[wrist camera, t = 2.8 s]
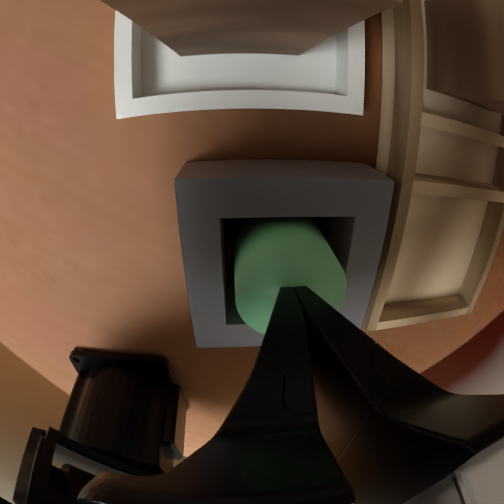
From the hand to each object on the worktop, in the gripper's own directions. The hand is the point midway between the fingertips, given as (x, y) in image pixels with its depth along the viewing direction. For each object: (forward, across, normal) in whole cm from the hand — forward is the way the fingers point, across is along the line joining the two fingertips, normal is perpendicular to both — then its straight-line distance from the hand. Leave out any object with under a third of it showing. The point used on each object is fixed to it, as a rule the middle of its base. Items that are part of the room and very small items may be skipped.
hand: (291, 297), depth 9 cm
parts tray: (+4, +2, -10) cm, 10 cm away
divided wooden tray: (+4, -8, -4) cm, 9 cm away
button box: (+4, 0, 0) cm, 4 cm away
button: (+3, 0, 0) cm, 3 cm away
